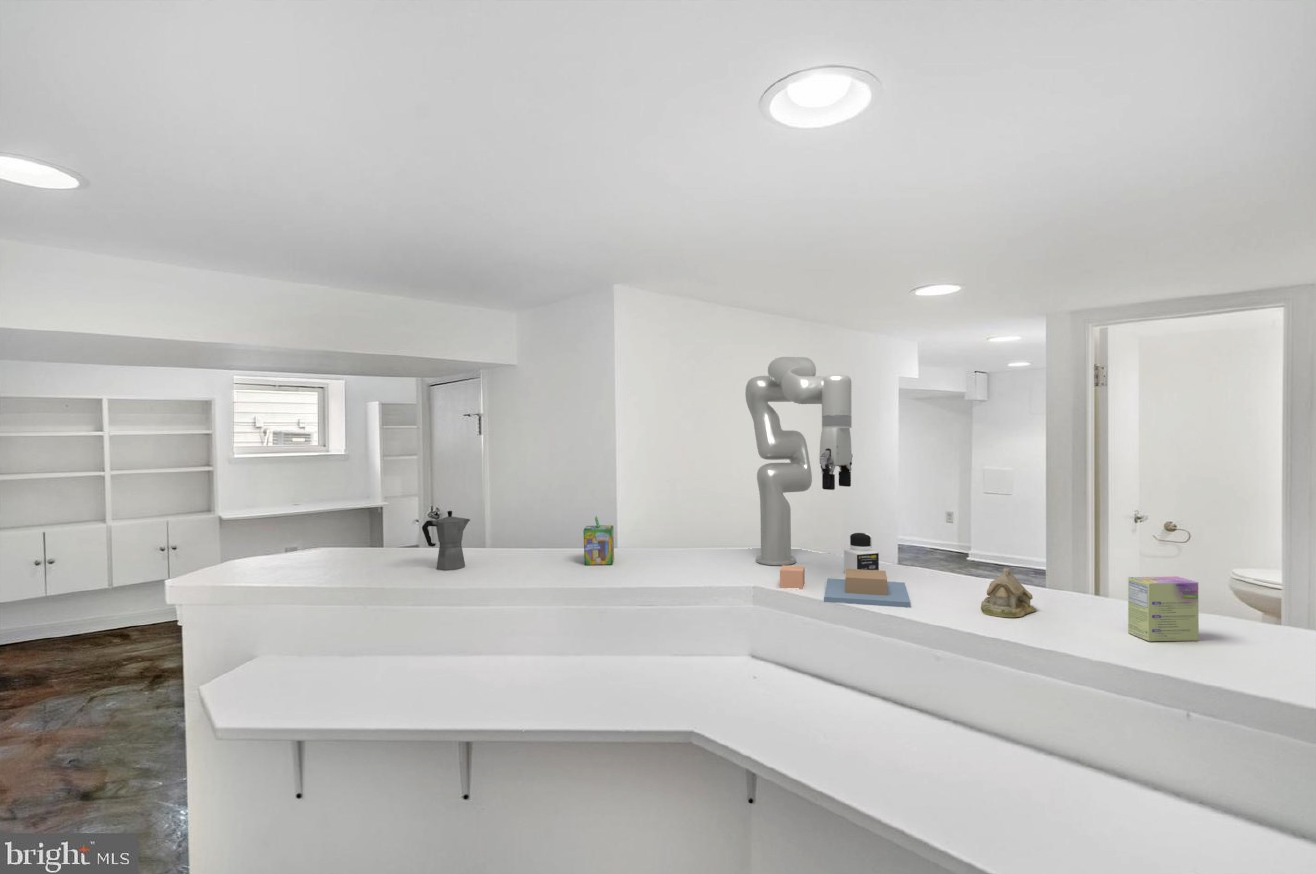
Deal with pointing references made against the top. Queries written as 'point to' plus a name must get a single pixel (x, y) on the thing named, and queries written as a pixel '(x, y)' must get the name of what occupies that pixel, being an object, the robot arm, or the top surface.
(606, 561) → the chalk box
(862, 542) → the medicine bottle
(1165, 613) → the box
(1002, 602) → the ceramic model
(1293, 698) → the top surface
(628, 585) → the top surface
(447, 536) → the coffeepot
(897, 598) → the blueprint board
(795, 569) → the terracotta block
